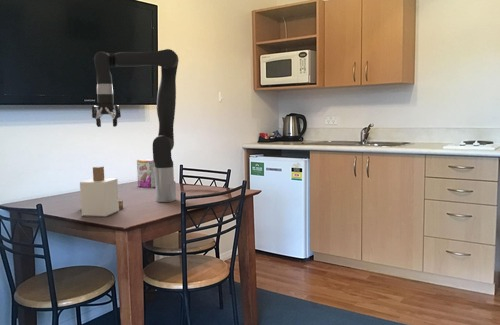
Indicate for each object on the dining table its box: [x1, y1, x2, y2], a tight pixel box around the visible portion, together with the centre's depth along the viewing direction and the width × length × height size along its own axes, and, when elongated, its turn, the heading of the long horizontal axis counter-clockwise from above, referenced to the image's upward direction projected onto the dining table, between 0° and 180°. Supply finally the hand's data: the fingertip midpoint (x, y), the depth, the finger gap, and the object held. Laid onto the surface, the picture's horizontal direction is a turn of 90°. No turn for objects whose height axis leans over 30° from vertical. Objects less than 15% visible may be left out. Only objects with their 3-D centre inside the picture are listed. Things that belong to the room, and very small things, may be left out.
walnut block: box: [118, 199, 124, 210], centre depth 218 cm, size 4×4×4 cm
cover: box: [79, 165, 120, 217], centre depth 206 cm, size 12×12×21 cm
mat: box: [81, 211, 119, 218], centre depth 207 cm, size 11×11×1 cm
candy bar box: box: [136, 158, 156, 189], centre depth 279 cm, size 11×5×16 cm, turn 58°
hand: (106, 126), depth 229 cm, fingers open, 8 cm apart
